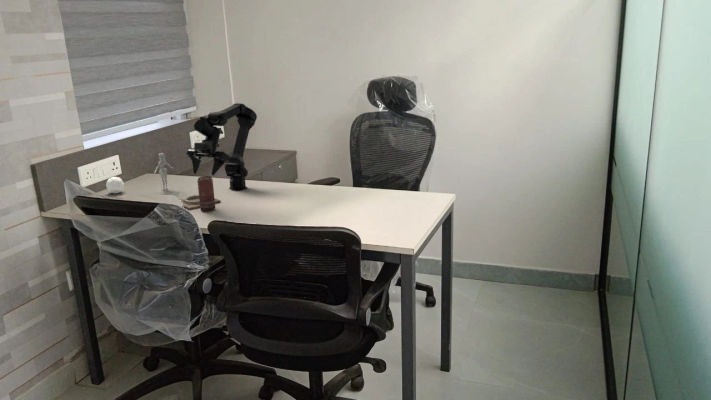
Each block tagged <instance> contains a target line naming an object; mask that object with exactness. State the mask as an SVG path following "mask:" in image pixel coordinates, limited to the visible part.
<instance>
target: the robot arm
mask: <svg viewBox="0 0 711 400" xmlns="http://www.w3.org/2000/svg"><path fill="white" fill-rule="evenodd" d="M233 117H236V118H237V121H236V122H237V124H238V130H237V134H236V138H235V143H234V146H233V150H232V154H231V155H229V154H228V153H227V152H225V151H220V150H219V151H218V150H217V149H218V148H220V144H219V141H220V140H219V139H220V137H221V135H223V134H224V132H223V130H222V127H224V126H225V125H226V124H227V123H228V122H229V120H230V119H231V118H233ZM257 118H258V116H257V113H256V112H255V110H253V109H251V108H249V107H248V106H246V105H245V104H244V103H239V102H238V103H237V102H236V103H233V104H232V105H231V106H228V107H227V108H224V109H223V110H220V111H213V112H212V111H211V112H209V113H208V115H207V116H206V117H205V116H200V118H199V119H197V121H195V123H194V125H193V128H194V130H195V132H197V133H199V134H201V135H202V136H204V137H205V138H204V139H202V141H201V142H194V145H193V146H194V147H193V148H194V149H193V148H192V149H190V148H189V149H188V150H187V151H186V154H185V155H186V156H187V157H188V158H189V159H190V160H191V163H192V170H193V171H192V172H193V174H195V175H197V172H198V170H199V167H200V165H201V162H202V160H201V159H202V158H208V159H209V158H210V159H212V158H213V165H212V166H213V167H212V170H211V176H215V174H216V173H217V172H218V171H219V169H221V168H222V166H223V165H224V171H225V174H226V177H229V189H230V190H232V191H235V192H236V191H242V190H245V189H248V186H247V185H246V184H247V183H246V178H247V176H249V175H248V173H249V171H248V169H247V168H246V167H245V161H244V159H243V158H244V153H245V149H246V146H247V145H246V144H247V141H248V137H249V134H250V130H251V129H252V128H253V127H254V125H255V124H256V121H257Z"/></svg>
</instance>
